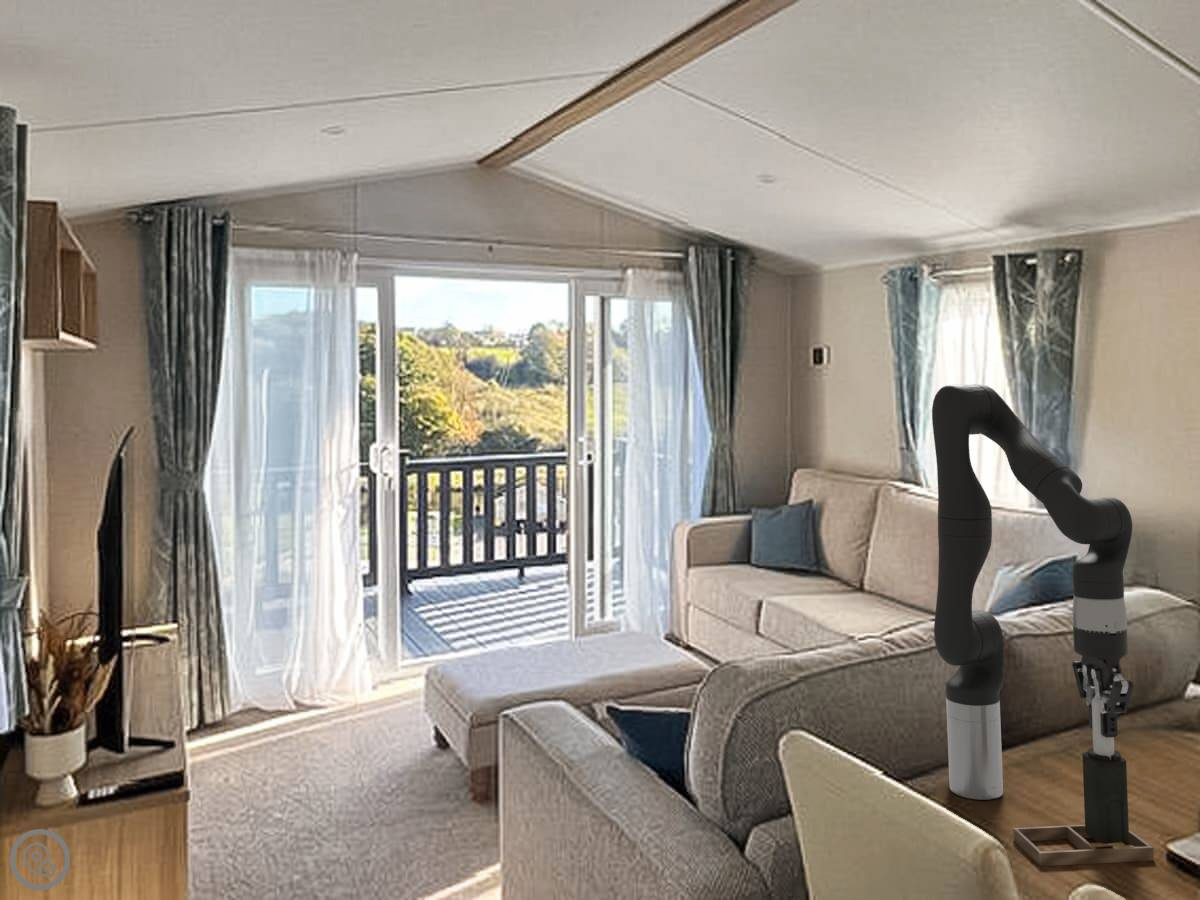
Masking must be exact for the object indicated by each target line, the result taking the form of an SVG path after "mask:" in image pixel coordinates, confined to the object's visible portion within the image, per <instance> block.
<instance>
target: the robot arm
mask: <svg viewBox="0 0 1200 900" xmlns="http://www.w3.org/2000/svg"><path fill="white" fill-rule="evenodd" d="M931 406H932V408H931V421H932V433H933V438H934V439H933V440H934V441H933V442H934V447H935V448H934V449H935V460H936V473H937V475H936V476H937V477H936V478H937V540H938V543H937V544H938V565H937V566H938V570H937V571H938V572H937V575H938V576H937V578H938V579H937V593H936V595H937V596H936V603H935V615H934V622H933V623H934V626H933V635H934V636H933V637H934V638H933V639H934V645H935V647H936V650H937V653H938V654H939V656H940V657H941V659H942V660H943V661H944V662H945V663H947V664H948V665H951V666H958V667H959V668H958V669H957V671H956V672H955V674H953V676H951V678H949V679H948V680H947V681H946V683H945V703H946V709H945V710H946V723H947V725H946V729H947V751H948V757H947V758H948V776H949V777H948V779H949V780H948V781H949V789H950V791H951V792H952V793H953V794H955V795H957V796H960V797H962V798H967V799H971V800H980V801H982V800H985V801H987V800H993V799H994V800H995V799H998V798H1000V797H1002V796H1003V794H1004V787H1003V785H1004V781H1003V750H1002V749H1003V748H1002V730H1001V729H1002V728H1001V726H1002V725H1001V704H1000V703H1001V702H1000V693H1001V692H1000V691H1001V689H1002V687H1003V684H1004V679H1005V678H1004V673H1005V672H1004V671H1005V667H1004V666H1005V665H1004V664H1005V644H1004V643H1005V642H1004V640H1005V639H1004V635H1003V634H1004V633H1003V631H1002V627H1001V624H1000V623H999V621H998V620H997V618H996V617H995V616H994V615H993V614H991V613H990V612H988V611H986V610H982V609H981V610H980V609H978V610H977V609H975V610H973V594H974V589H975V587H976V586H975V585H976V583H977V580H978V577H979V575H980V574H981V571H982V569H983V567H984V564H985V562H986V560H987V558H988V555H989V552H990V550H991V547H992V546H991V545H992V539H993V538H992V537H993V515H992V513H993V511H992V505H991V501H990V500H989V498H988V495H987V493H986V491H985V489H984V488H983V486H982V484H981V483H980V480H979V479H978V477H977V475H976V473H975V471H974V468H973V466H972V463H971V456H970V435H971V436H972V435H983V436H985V437H986V438H987V439H990V440H991V441H993V443H995V444H997V445H998V446H999V447H1000V448H1001V449H1002V451H1003V452H1004V454H1005V455H1006V459H1007V461H1008V465H1009V468H1010V470H1011V472H1012V473H1013V475H1014V477H1015V478H1016V480H1017V481H1018V483H1019V484H1021V485H1022V486H1023V487H1024V488H1025V489H1026V490H1027V491H1028V492H1029V493H1030V494H1032V495H1033V496H1034V497H1035V498H1036V499H1037V500H1038V501H1039V502H1040V503H1042V504H1043V506H1044V508H1045V509H1046V512H1047V513H1048V515H1049V516H1050V518H1051V519H1052V520H1053V523H1054V524H1055V526H1056V528H1057V529H1058V531H1060V532H1061V534H1063V536H1065V537H1066V538H1067V539H1069V540H1071V541H1072V542H1074V543H1077V544H1080V545H1088V550H1087V553H1086V555H1084V556H1083V557H1081V558H1079V559H1078V560H1076V561H1075V562H1074V564H1073V566H1072V567H1073V568H1072V586H1073V589H1072V590H1073V600H1072V601H1073V602H1072V612H1071V613H1072V631H1073V633H1072V634H1073V635H1072V637H1073V651H1074V652H1075V653H1076V654H1077V655H1079V656H1081V661H1080V660H1079V661H1072V663H1071V666H1072V668H1073V669H1072V670H1073V673H1074V677H1075V680H1076V681H1075V682H1076V687H1077V689H1078V692H1079V693H1078V694H1079V696H1080V697H1079V698H1080V699H1082V700H1083V699H1085V704H1086V706H1088V717H1089V718H1088V719H1089V721H1088V722H1089V723H1088V724H1089V728H1090V730H1092V731H1093V727H1092V699H1093V698H1094V696H1095V695H1096V697H1097V698H1099V701H1100V710H1101V713H1100V717H1101V735H1102V736H1104V737H1106V738H1108V737H1114V738H1116V737H1117V736H1118V714H1121V713H1122V714H1123V713H1125V714H1126V713H1127V710H1128V707H1129V704H1130V700H1131V697H1132V696H1131V695H1132V692H1133V689H1134V683H1133V681H1132V680H1130V679H1127V680H1126V679H1125V678H1124V677H1123V672H1122V667H1121V664H1120V663H1121V662H1120V660H1121V659H1122V658H1125V657H1126V656H1128V654H1129V651H1128V650H1129V648H1128V647H1129V645H1128V643H1129V642H1128V620H1127V619H1128V618H1127V608H1126V602H1125V585H1124V584H1125V582H1124V567H1125V565H1126V561H1127V557H1128V554H1129V553H1128V552H1129V549H1130V544H1131V540H1132V535H1133V520H1132V516H1131V513H1130V510H1129V508H1128V507H1127V505H1126V504H1125V503H1124V502H1123V501H1122V500H1120V499H1118V498H1116V497H1110V496H1105V497H1104V496H1103V497H1095V498H1094V497H1093V498H1086V497H1084V496H1082V495H1081V493H1082V490H1083V482H1082V479H1081V478H1080V477H1079V475H1078V474H1077V473H1076V472H1075V471H1073V470H1072V469H1071V468H1070V467H1069V466H1068V465H1067V464H1065V463H1064V462H1063V461H1062V460H1061V459H1059V458H1058V457H1057V456H1056V455H1054V453H1052V452H1051V451H1049V449H1047V447H1045V446H1044V445H1043V444H1042V443H1041V442H1040V441H1039V440H1038V439H1037V438H1036V437H1035V436H1034V435H1033V433H1032V432H1031V431H1030V430H1029V429H1028V427H1027V426H1026V425H1025V424H1024V423H1023V422H1022V421H1021V419H1020V418H1019V417H1018V416H1017V415H1016V414H1015V412H1014V411H1013V410H1012V409H1011V407H1010V405H1008V404H1007V402H1006V401H1005V400H1004V399H1003V398H1002V396H1000V394H999V393H998V392H996V391H995V390H994V389H993V388H992V387H990V386H989V385H985V384H977V383H974V384H973V383H972V384H970V383H969V384H968V383H967V384H966V383H965V384H948V385H945V386H942V387H941V388H940V389H939V390H937V392H936V394H935V396H934V398H933V401H932V405H931ZM1103 691H1106V692H1107V693H1103ZM1108 698H1109V700H1108V704H1107V702H1106V700H1107V699H1108Z"/></svg>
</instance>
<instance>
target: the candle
mask: <svg viewBox="0 0 1200 900" xmlns="http://www.w3.org/2000/svg"><path fill="white" fill-rule="evenodd" d="M1103 693H1107V692H1106V691H1103ZM1108 700H1109V698H1108V699H1107V700H1106V702H1107V704H1108ZM1100 713H1101V710H1100V701H1099V698H1097V697H1096V695H1095V696H1094V698H1093V699H1092V727H1093V730H1092V748H1088V749H1087V751H1083V753H1082V776H1083V778H1082V779H1083V781H1082V782H1083V805H1084V806H1083V807H1084V808H1083V809H1084V811H1083V812H1084V825H1085V832H1086V834H1088V835H1089V836H1090V837H1092V838H1091V839H1093V840H1094V841H1095V842H1097V843H1099V844H1103V845H1109V844H1116V843H1117V844H1121V843H1124V844H1128V843H1127V842H1129V830H1130V828H1129V827H1130V826H1129V824H1130V823H1129V798H1128V776H1127V775H1128V774H1127V771H1128V770H1127V768H1128V767H1127V760H1126V759H1125V758H1124V757H1122V756H1121V752H1120V751H1118V750H1115V737H1108V738H1106V737H1104V736H1102V735H1101V717H1100Z"/></svg>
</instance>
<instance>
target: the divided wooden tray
mask: <svg viewBox="0 0 1200 900" xmlns="http://www.w3.org/2000/svg"><path fill="white" fill-rule="evenodd" d="M1012 833H1013V842H1015V843H1016V844H1017V846H1019V847H1020V848H1021V849H1022V850H1023V851H1024V852H1025V853H1026V854H1027V855H1028V856H1029V857H1030V858H1032V860H1034V862H1036V863H1037V865H1039V866H1040V867H1055V866H1069V865H1073V866H1074V865H1087V864H1089V865H1090V864H1091V865H1094V864H1108V863H1109V864H1110V863H1111V864H1112V863H1113V864H1114V863H1129V862H1130V863H1131V862H1149V861H1151V862H1152V861H1153V862H1154V859H1155V857H1154V856H1155V854H1154V847H1153V846H1152V845H1150V843H1148V842H1147V841H1145V840H1144V839H1142V837H1140V836H1139V835H1137V834H1135V833H1134V832H1133V831H1131V830H1130V829H1129V842H1128V843H1129V844H1128V843H1127V844H1125V845H1123V844H1122V845H1112V847H1108V848H1096V847H1095V846H1094V845H1093V844H1091V842H1089V841H1088V840H1087V839H1093V838H1092V837H1090V836H1089V835H1088V834H1086V832H1085V824H1070V825H1066V824H1065V825H1052V826H1051V825H1049V826H1046V825H1045V826H1031V827H1029V826H1027V827H1013V828H1012ZM1051 840H1052V841H1054V840H1056V841H1057V840H1068V841H1069V842H1070V843H1071V844H1072V845H1073V844H1074V845H1073V846H1075V848H1077V849H1065V850H1050V851H1042V850H1041V849H1040V848H1038V847H1037V846H1036V844H1034V843H1033V842H1036V841H1051ZM1032 841H1033V842H1032Z"/></svg>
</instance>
